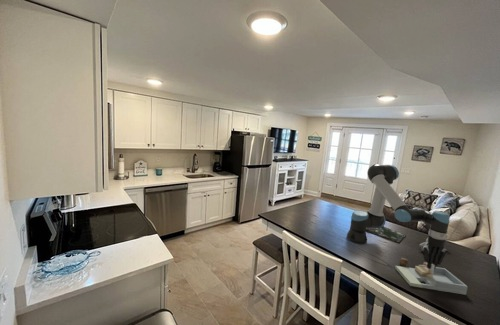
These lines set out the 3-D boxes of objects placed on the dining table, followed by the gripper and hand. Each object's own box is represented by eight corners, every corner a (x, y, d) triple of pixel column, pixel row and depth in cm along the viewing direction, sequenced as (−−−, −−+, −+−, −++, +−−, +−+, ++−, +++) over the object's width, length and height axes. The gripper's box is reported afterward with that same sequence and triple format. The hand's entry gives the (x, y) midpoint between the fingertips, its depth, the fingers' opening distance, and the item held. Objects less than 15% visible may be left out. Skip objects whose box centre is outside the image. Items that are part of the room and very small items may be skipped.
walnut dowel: (401, 267, 133) (402, 260, 132) (398, 264, 137) (399, 257, 136) (408, 268, 132) (409, 261, 132) (404, 265, 136) (406, 258, 136)
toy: (437, 261, 147) (446, 245, 165) (439, 249, 146) (448, 234, 163) (416, 253, 157) (427, 239, 174) (418, 242, 155) (429, 228, 172)
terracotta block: (428, 271, 130) (429, 266, 130) (422, 268, 134) (423, 262, 134) (433, 271, 131) (434, 265, 131) (427, 267, 135) (428, 262, 135)
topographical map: (398, 244, 166) (399, 240, 166) (357, 228, 191) (357, 225, 190) (406, 235, 183) (407, 232, 183) (367, 222, 208) (368, 219, 207)
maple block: (421, 276, 122) (421, 271, 122) (414, 270, 128) (415, 265, 128) (432, 278, 121) (433, 273, 121) (425, 271, 127) (426, 267, 127)
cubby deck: (410, 285, 116) (411, 277, 115) (395, 268, 132) (396, 261, 131) (465, 294, 112) (467, 286, 111) (443, 275, 127) (444, 268, 127)
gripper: (429, 238, 118) (422, 275, 121) (454, 242, 116) (446, 279, 119) (420, 233, 126) (414, 267, 129) (444, 235, 124) (437, 271, 127)
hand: (429, 273), depth 124 cm, fingers closed
